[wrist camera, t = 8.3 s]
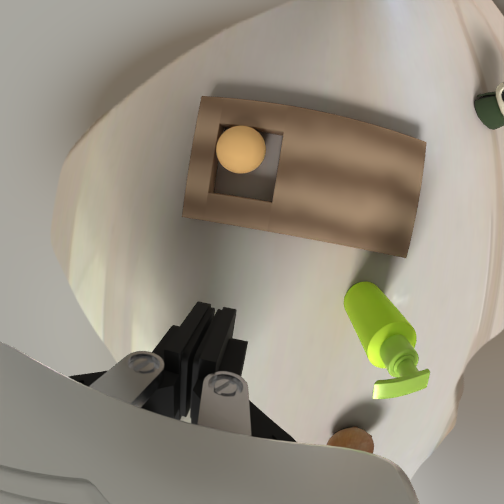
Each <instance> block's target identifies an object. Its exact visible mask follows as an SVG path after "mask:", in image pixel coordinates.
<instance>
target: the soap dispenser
mask: <svg viewBox="0 0 504 504" xmlns="http://www.w3.org/2000/svg"><path fill="white" fill-rule="evenodd" d="M344 307H345V310H346V312H347V314H348V316H349V318H350V320H351V322H352V325H353V327H354V329H355V331H356V333H357V335H358V337H359V339H360V341H361V344H362V346H363V348H364V350H365V352H366V354H367V357H368V359H369V361H370V362H371V363H372V364H373V365H374V366H376V367H379V368H387V370H388V372H389V374H390V375H391V376H393V377H397V378H394V379H387V380H378V381H376V382H375V384H374V390H373V399H387V398H394V397H399V396H403V395H407V394H410V393H413V392H416V391H419V390H421V389H424V388H426V387H427V384H428V379H429V375H430V371H429V370H428V369H425V370H422V371H418V369H417V368H416V366H417V363H418V359H419V357H418V354H417V352H416V351H415V349H414V347H415V344H416V332H415V330H414V328H413V327H412V326H411V324H410V323H409V322H408V321H407V320H406V319H405V317H404V316H403V315H402V314H401V313H400V312H399V310H398V309H397V308H396V307H395V306H394V305H393V304H392V302H391V301H390V300H389V299H388V298H387V297H386V296H385V295H384V293H383V292H382V291H381V290H380V289H379V288H378V287H377V286H376V285H375V284H373V283H371V282H359V283H357V284H355V285H353V286H352V287H351V288H350V289H349V290H348V292H347V293H346V295H345V298H344ZM398 377H399V378H398Z"/></svg>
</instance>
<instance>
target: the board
mask: <svg viewBox="0 0 504 504" xmlns="http://www.w3.org/2000/svg"><path fill="white" fill-rule="evenodd" d="M234 126H248V127H251V128H253V129H255V130H256V131H257V132H263V133H270V134H276V135H282V136H283V140H282V146H281V152H280V159H279V165H278V171H277V177H276V183H275V189H274V194H273V200H272V202H270V201H265V200H259V199H253V198H247V197H240V196H234V195H228V194H221V193H214V186H215V180H216V173H217V167H218V161H219V160H218V157H217V153H216V146H217V142H218V140H219V138H220V136H221V135H222V134H223V131H224V128H231V127H234ZM425 152H426V142H424V141H422V140H419V139H416V138H414V137H411V136H408V135H405V134H402V133H399V132H396V131H393V130H390V129H387V128H383V127H380V126H377V125H373V124H370V123H366V122H362V121H359V120H355V119H351V118H347V117H343V116H339V115H335V114H330V113H326V112H321V111H316V110H311V109H306V108H301V107H295V106H289V105H283V104H277V103H270V102H262V101H254V100H245V99H235V98H223V97H208V96H202V97H201V102H200V107H199V112H198V117H197V122H196V127H195V133H194V139H193V144H192V150H191V156H190V163H189V169H188V176H187V183H186V190H185V197H184V205H183V213H182V217H186V218H192V219H198V220H205V221H211V222H217V223H223V224H229V225H234V226H240V227H246V228H252V229H258V230H263V231H269V232H274V233H280V234H286V235H291V236H296V237H302V238H307V239H313V240H318V241H323V242H328V243H334V244H339V245H344V246H349V247H354V248H359V249H364V250H369V251H374V252H379V253H384V254H389V255H393V256H398V257H403V258H406V257H407V253H408V249H409V245H410V241H411V236H412V232H413V227H414V222H415V218H416V212H417V207H418V202H419V196H420V190H421V183H422V176H423V169H424V161H425Z"/></svg>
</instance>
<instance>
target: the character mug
mask: <svg viewBox="0 0 504 504" xmlns="http://www.w3.org/2000/svg"><path fill="white" fill-rule="evenodd" d="M484 95H485V96H484ZM479 96H483V97H481V98H480V99H478V100H475V109H476V112H477V115H478V117H479V118H480V120H481V121H482V122H483V124H484V125H486V126H487V127H488V128H489V129H493V130H494V129H497V128H500V127H502V126H504V82H502V83H501V84H500V85H499V86H497V88H496V92H489V93H484V94H480V95H478V96H477V97H479Z"/></svg>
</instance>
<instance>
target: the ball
mask: <svg viewBox="0 0 504 504" xmlns="http://www.w3.org/2000/svg"><path fill="white" fill-rule="evenodd" d="M265 152H266V146H265V142H264V140H263V138H262V136H261V135H260V134H259V132H257V131H256V130H255V129H253V128H251V127H248V126H234V127H231V128H229V129H228V130H226V131H225V132H224V133H223V134H222V135H221V136H220V138H219V140H218V142H217V146H216V153H217V157H218V160H219V161H220V163H221V164H222V166H223V167H224V168H226V169H227V170H229V171H231V172H234V173H248V172H251V171H253V170H254V169H256V168H257V167H258V166H259V165H260V164H261V163H262V161H263V159H264V157H265Z"/></svg>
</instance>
